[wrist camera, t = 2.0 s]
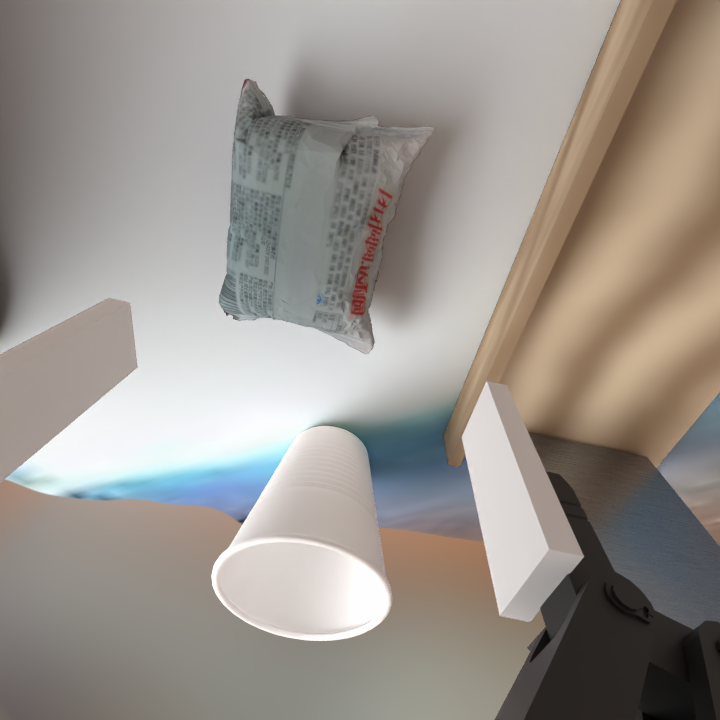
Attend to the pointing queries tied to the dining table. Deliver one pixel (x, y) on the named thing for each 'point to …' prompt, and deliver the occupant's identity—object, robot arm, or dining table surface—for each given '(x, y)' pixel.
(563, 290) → the wooden book rack
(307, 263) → the packaged food
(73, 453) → the dining table surface
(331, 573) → the cup
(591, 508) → the bookend
